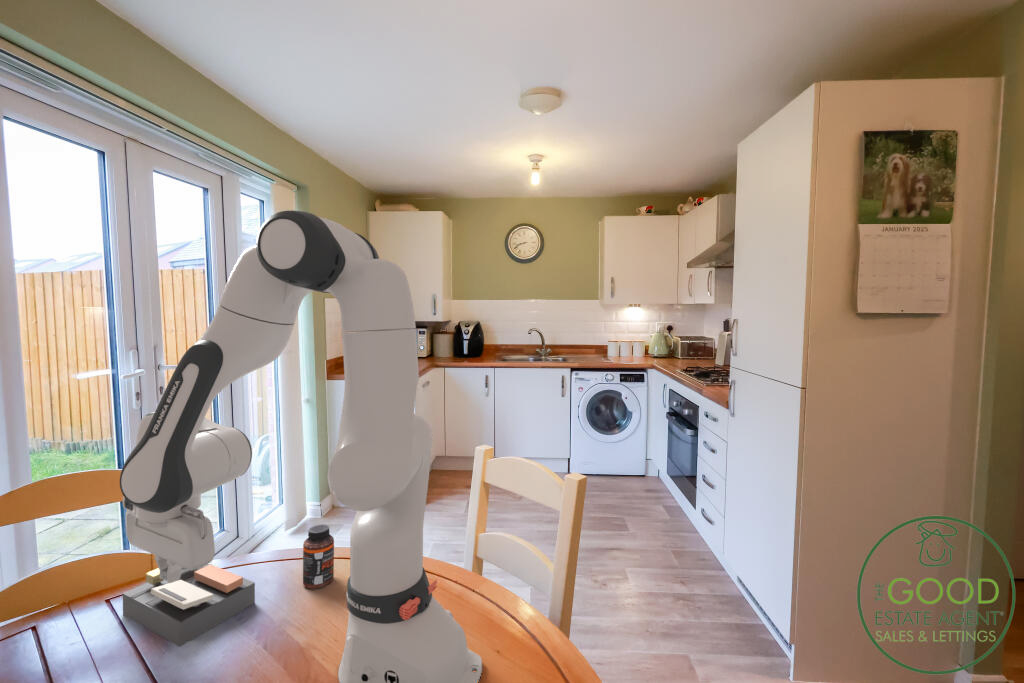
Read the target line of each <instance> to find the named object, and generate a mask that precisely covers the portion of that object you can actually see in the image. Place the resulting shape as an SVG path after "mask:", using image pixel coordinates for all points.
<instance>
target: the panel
mask: <svg viewBox="0 0 1024 683" xmlns="http://www.w3.org/2000/svg"><path fill="white" fill-rule="evenodd" d="M208 565H210V563H208V564H206V565H204V566H202V567H199V568H197V569H195V570H189V569H183V570H182V569H180V579H179V580H183V581H185V582H187V583H189V584H192V585H194V586H196V587H198V588H201V589H203V590H205V591H207V592H209V593H212V594H213V599H212V600H209V601H206V602H203V603H200V606H197V607H193V606H192V607H189V608H186V609H184V610H183V609H181V608H179V607H177V606H175V605H173V604H171V603H169V602H167V601H165V600H163V599H161V598H159V597H157V596H155V595H153V594H151V589H152V588H155V587H159V586H162V585H165V584H168V583H169V582H167V581H165V580H163V581H161V584H160V585H158V586H154V585H152V584H150V583H148V582H145V583H143V584H141V585H139V586H136V587H134V588H132V589H130V590H128V591H125V592H123V593H122V616H124V617H126V618H127V619H129V620H131V621H133V622H134V623H136V624H139V625H140V626H141V627H143V628H145V629H147V630H149V631H151V632H152V633H154V634H157V635H158V636H160V637H162V638H164V640H165V639H166V640H167V641H169V642H171V643H172V644H174V645H175V646H178V647H182V646H184V645H185V644H186V643H188V642H190V641H192V640H194V639H196V638H197V637H199V636H200V635H203V634H204V633H206V632H207V631H210V630H211V629H212V628H215V627H216V626H218V625H220V624H221V623H224V622H225V621H226V620H228V619H230V618H232V617H233V616H235V615H237V614H239V613H240V612H242V611H244V610H246V609H247V608H249V607H251V606H252V605H254V604H255V603H256V600H255V599H256V592H255V591H256V589H255V588H256V583H255V582H254V581H252V580H250V579H247V578H244V577H243V585H241V586H239V587H237V588H235V589H234V590H232V591H230V592H228V593H225V592H223V591H221V590H218V589H216V588H214V587H211V586H209V585H207V584H205V583H202V582H200V581H198V580H195V579H194V572H195V571H197V570H199V569H202V568H204V567H206V566H208ZM177 581H178V580H177Z"/></svg>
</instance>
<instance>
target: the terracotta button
mask: <svg viewBox="0 0 1024 683" xmlns="http://www.w3.org/2000/svg"><path fill="white" fill-rule="evenodd" d="M209 564H210V563H209ZM243 578H244V577H243V576H240V575H238V574H236V573H234V572H231V571H228V570H226V569H223V568H221V567H219V566H216V565H213V564H212V563H211V564H210V565H208V566H206V567H204V568H202V569H199V570H197V571H195V572H194V579H195V580H198V581H200V582H202V583H205V584H207V585H209V586H211V587H214V588H216V589H218V590H221V591H223V592H225V593H228V592H230V591H232V590H234V589H235V588H237V587H239V586H241V585H243Z"/></svg>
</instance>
